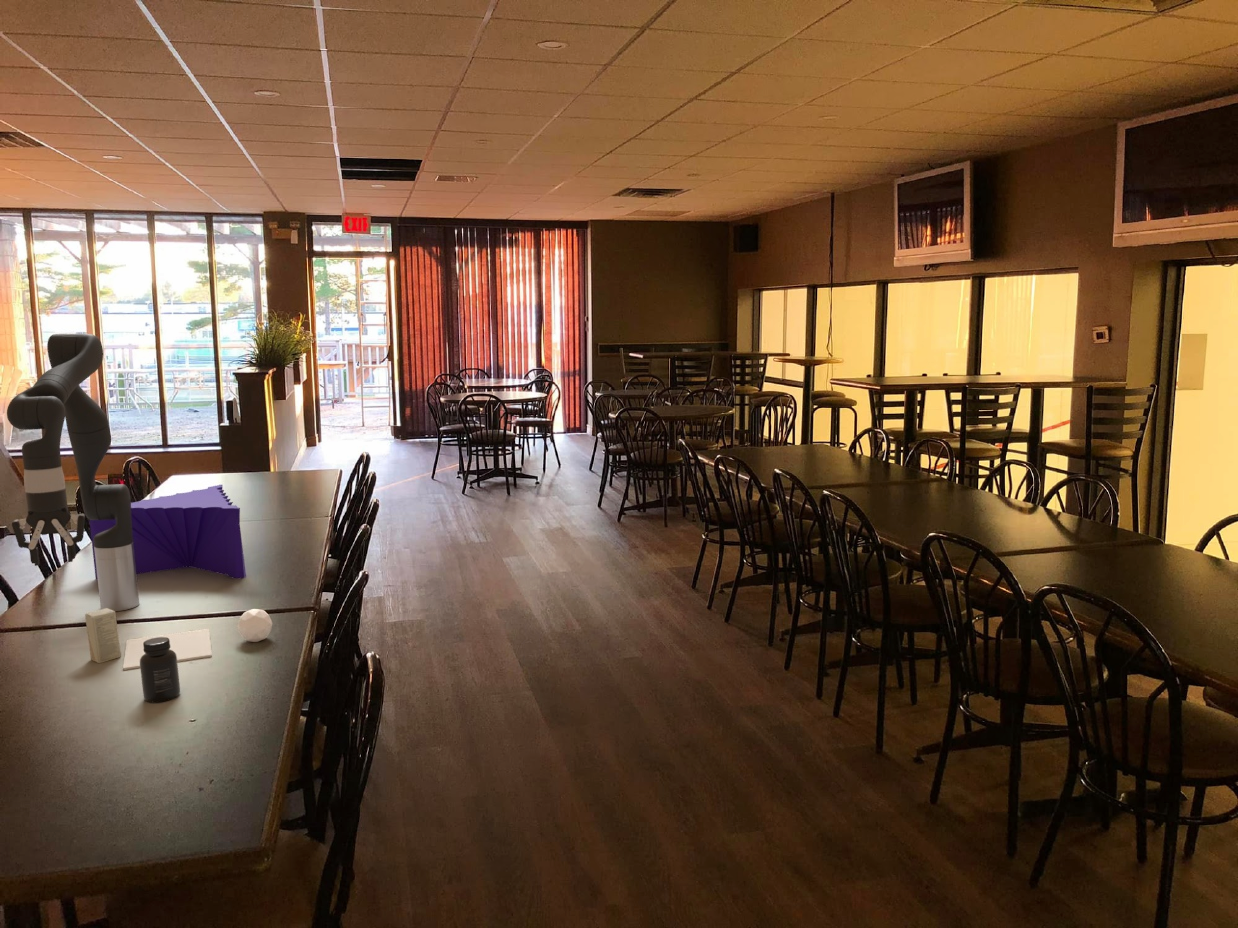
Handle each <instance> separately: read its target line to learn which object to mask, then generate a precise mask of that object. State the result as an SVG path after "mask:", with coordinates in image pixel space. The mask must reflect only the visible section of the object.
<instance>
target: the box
mask: <svg viewBox="0 0 1238 928" xmlns="http://www.w3.org/2000/svg"><path fill="white" fill-rule="evenodd" d="M116 614H117V613H116V611H113V610H110V609H108V608H105V609H101V608H100V609H98V610H94V611H90V612H86V613H85V614H84V615H85V617H84V618H85V625H86V633H87V639H88V645H89V646H88V647H89V654H90V659H91V660H92V661H93V662H94V663H97V664H102V663H105V662H108V661H111V660H115V659H117V658H118V659H119V658H121V657H122V653H121V646H120V640H119V639H120V637H119V631H118V623H117V617H116V616H117V615H116Z"/></svg>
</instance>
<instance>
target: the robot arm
mask: <svg viewBox="0 0 1238 928" xmlns="http://www.w3.org/2000/svg"><path fill="white" fill-rule="evenodd" d="M47 339H48V340H47V344H46V346H47V347H46V348H47V350H46V351H47V356H48V357H47V358H48V360H49V364H50V367H51V368H50V369H48V370H46V371H45V372H44V373H42V374H41V375H40V376H39V377H38V379H37V381H36V382H35V383H34V385H33V386H30V387H29V388H26V389H25V390H23V391H21V392H20V393H18V394H17V395H16V396H14V397H13V398H12V399H11V400H10V402H9V404H8V406H7V409H6V417H7V420H8V422H9V424H10V425H11V426H12V427H13V428H15V429H17V430H22V431H24V430H25V431H27V430H29V431H30V430H44V434H43V436H42V437H40V438H37V439H34V440H33V439H31V440H30V441H25V442H24V443H23V444H22V446H21V454H22V464H23V482H24V484H23V489H24V491H25V493H24V494H25V501H26V509H27V515H26V517H25V518H20V519H18V518H17V519H14V520H13V521H12V523H11V526H12V530H13V533H14V536H15V539H16V542H17V545H18V547H19V548H21V549H23V548H24V549H28V551H29V558H30V562H31V564H32V565H33V564H34V566H35V567H37V566H40V564H41V563H40V561H41V560H40V554H39V547H37V546H38V545H37V544H38V543H39V540H40V537H41V536H46V535H49V534H51V535H52V534H53V535H57V534H60V536H61V538H63V540H64V541H65V543H66V544H67V545H66V551H67V552H66V553H67V561H68V563H72V562H73V560H74V559H76V556H77V553H76V544H77V543H79V542H82V541H83V539H84V535H85V533H84V532H85V522H86V520H85V519H86V518H87V519H88V520H111V519H116V525H115V526H113V527H112V528H110V529H108V530H106V531H103V532H101V533H98V534H97V535H95V536H94V539H93V542H94V550H95V559H96V568H97V578H98V579H97V585H98V586H97V587H98V594H99V595H98V597H99V604H100V605H99V606H100V610H101V609H105V608H108V609H110V610H113V611H115V612H120V611H125V610H130V609H133V608H136V607H138V606H140V597H139V586H138V576H137V575H138V574H136V565H135V555H134V545H133V534H132V520H131V503H132V501H131V493H130V489H129V488H128V486H127V485H126V484H123V483H121V484H119V483H117V484H116V483H115V484H97V483H96V475H97V472H98V469H99V467H100V464H101V463H102V462H103V460H104V458H105V455H106V454H107V453H108V450H109V448H110V446H111V444H112V434H111V429H110V423H109V420H108V415H107V414H106V412H105V411H104V410H103V409H102V408H101V407H100V405H99V404H98V403H96V402H95V400H93V399H92V397H90V395H88V394H87V392H85V391H84V389H83V388H82V387H81V386H80V384H82V383H83V382H84V381H85V380H87V379H88V378H89V377H90V376H92V375H93V374H94V373H95V372H96V371H98V370H99V368H100V367H101V365H102V364H103V360H104V347H103V344H102V342H101V339H100V338H99V337H98V336H97V335H95V334H91V333H55V334H52V335H50V336H49V337H48V338H47ZM64 423H66V428H67V433H68V438H69V442H70V445H71V449H72V453H73V457H74V462H75V466H76V470H77V475H78V477H77V478H78V482H79V483H78V484H79V490H80V497H81V504H82V508H83V509H82V510H83V512H84V513H81V512H80V513H78V514H76V513H75V514H74V513H71V512H70V510H69V508H68V507H69V505H68V500H67V499H68V497H67V488H66V480H65V474H64V471H63V465H62V458H61V457H62V456H61V440H62V432H63V427H64ZM71 520H72V521H73V523H74V524H75V525H77V526H76V535H75V536H72V534H71V532H70V530H69V529H68V528H67V525H68V524H69V522H70V521H71ZM26 524H27V525H28V526H30V528H32V529H33V530H34V532H33V534H32V537H31V539H30V541H29V540H26V536H25V532H24V529H25V528H26Z"/></svg>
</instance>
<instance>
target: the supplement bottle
mask: <svg viewBox="0 0 1238 928" xmlns="http://www.w3.org/2000/svg"><path fill="white" fill-rule="evenodd" d="M143 646H144V649H143V650H144V652H145V654H144V655H143V656H142V657H141V659H140V668H139V670H140V678H141V686H142V694H143V695H142V696H143V699H144V701H146V702H148V703H163V702H167V701H170V700H173V699H175V698H176V697H178V696H179V695H180V693H181V686H180V685H181V684H180V683H181V682H180V674H179V666H178V665H179V664H178V662H177V656H176V653H175V652H174V651H172V650H170V641H169V638H167V637H158V638H152V639H149V640H146V641H145V642H144V643H143Z"/></svg>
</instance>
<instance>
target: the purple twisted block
mask: <svg viewBox="0 0 1238 928" xmlns="http://www.w3.org/2000/svg"><path fill="white" fill-rule="evenodd" d="M224 491H225V490H224V486H223V484H218V485H213V486H208V487H207V488H203V489H196V490H195V489H192V490H191V491H187V492H180V493H177V492H176V493H175V494H171V495H164V496H159V497H156V498H150V499H141V500H139V501H135V502H131V520H132V534H133V545H134V555H135V565H136V574H137V575H139V574H148V573H155V572H162V571H170V570H177V569H185V568H194V569H198V570H203V571H208V572H212V573H216V574H221V575H224V576H228V577H229V578H232V579H235V580H237V579H244V578H245V577H247V573H246V572H247V571H246V566H245V565H246V564H245V556H244V555H245V554H244V548H243V540H242V533H241V532H242V531H241V523H240V522H241V520H240V518H241V508H240V507H238V505H237V504H235V505H234V504H233V503H234V502H233V501H231V498H229V495H227V492H224ZM88 520H89V519H88ZM115 525H116V519H111V520H89V528H90V537H91V547H92V555H93V567H94V575H95V580H98V578H97V568H96V559H95V550H94V542H93V539H94V536H95V535H97V534H98V533H101V532H103V531H106V530H108V529H110V528H112V527H113V526H115Z"/></svg>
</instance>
